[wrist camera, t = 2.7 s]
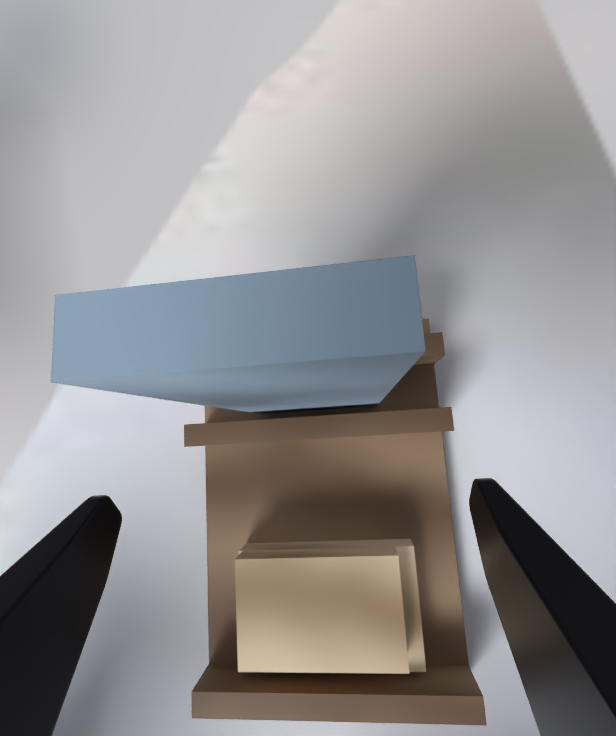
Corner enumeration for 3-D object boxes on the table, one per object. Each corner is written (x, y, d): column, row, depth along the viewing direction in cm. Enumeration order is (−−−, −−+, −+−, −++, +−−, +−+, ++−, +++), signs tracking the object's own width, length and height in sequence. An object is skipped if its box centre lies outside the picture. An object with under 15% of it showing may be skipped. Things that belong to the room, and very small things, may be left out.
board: (376, 405, 19) (425, 350, 6) (260, 413, 20) (50, 382, 6) (374, 376, 20) (414, 255, 6) (259, 385, 20) (55, 295, 7)
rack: (466, 679, 18) (491, 735, 15) (215, 676, 19) (186, 727, 16) (425, 323, 20) (438, 303, 17) (209, 342, 22) (183, 327, 19)
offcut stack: (421, 655, 17) (431, 691, 15) (249, 654, 18) (233, 688, 16) (410, 538, 18) (418, 555, 16) (246, 543, 19) (230, 559, 17)
